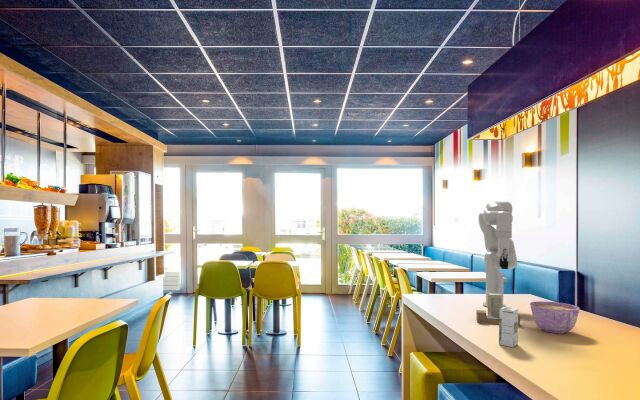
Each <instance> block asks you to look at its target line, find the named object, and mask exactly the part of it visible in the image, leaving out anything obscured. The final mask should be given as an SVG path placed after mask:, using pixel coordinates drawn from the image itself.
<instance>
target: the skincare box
mask: <svg viewBox="0 0 640 400" xmlns="http://www.w3.org/2000/svg"><path fill="white" fill-rule="evenodd" d="M487 296H488V307H487V316H497V317H499V316H500V309H501V308H502V295H501V294H490V293H487Z"/></svg>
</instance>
